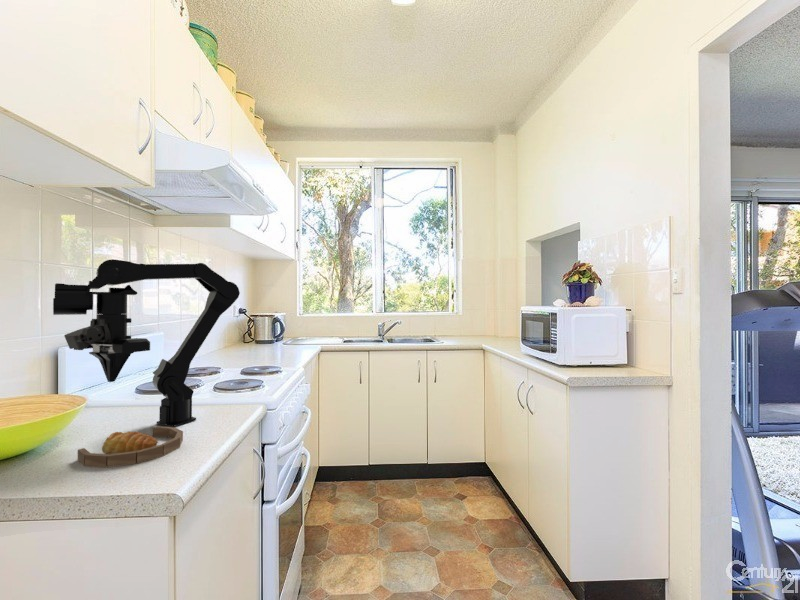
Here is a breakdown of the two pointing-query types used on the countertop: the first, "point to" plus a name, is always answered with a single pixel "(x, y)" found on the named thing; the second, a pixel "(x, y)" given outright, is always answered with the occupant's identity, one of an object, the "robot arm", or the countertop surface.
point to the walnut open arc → (135, 456)
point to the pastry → (127, 442)
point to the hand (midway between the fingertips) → (111, 381)
